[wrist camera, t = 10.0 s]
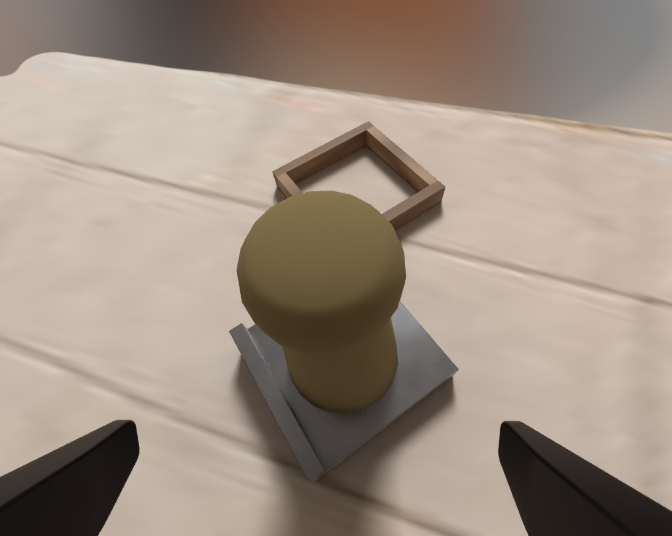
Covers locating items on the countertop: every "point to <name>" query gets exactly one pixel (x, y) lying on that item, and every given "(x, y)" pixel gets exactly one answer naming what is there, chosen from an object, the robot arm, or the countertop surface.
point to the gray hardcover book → (342, 428)
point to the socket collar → (386, 150)
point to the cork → (327, 295)
